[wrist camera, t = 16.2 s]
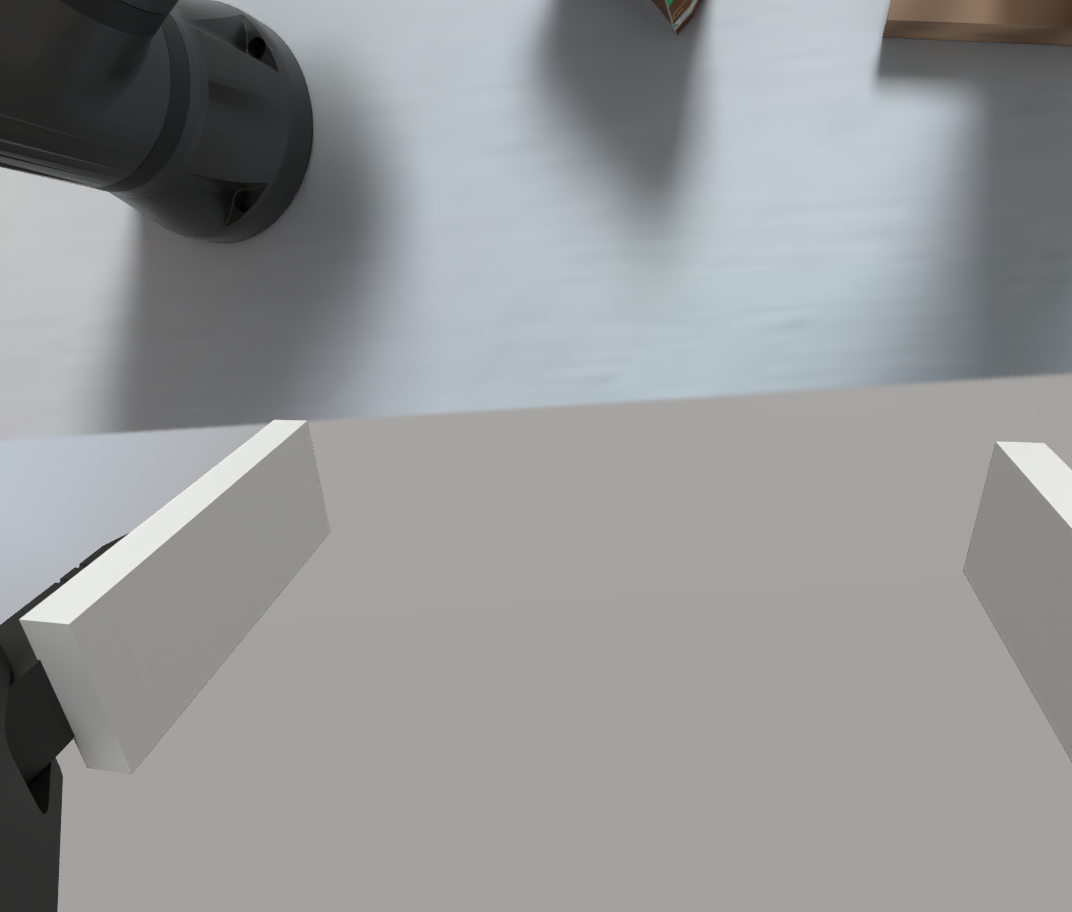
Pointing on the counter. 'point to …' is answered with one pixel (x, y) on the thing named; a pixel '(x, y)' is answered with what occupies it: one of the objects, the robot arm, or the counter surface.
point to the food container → (676, 12)
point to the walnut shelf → (982, 20)
